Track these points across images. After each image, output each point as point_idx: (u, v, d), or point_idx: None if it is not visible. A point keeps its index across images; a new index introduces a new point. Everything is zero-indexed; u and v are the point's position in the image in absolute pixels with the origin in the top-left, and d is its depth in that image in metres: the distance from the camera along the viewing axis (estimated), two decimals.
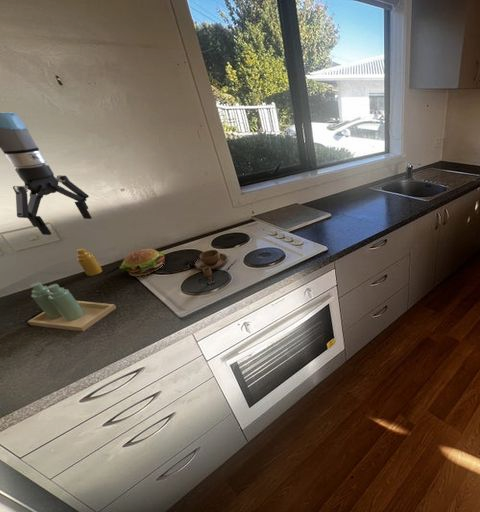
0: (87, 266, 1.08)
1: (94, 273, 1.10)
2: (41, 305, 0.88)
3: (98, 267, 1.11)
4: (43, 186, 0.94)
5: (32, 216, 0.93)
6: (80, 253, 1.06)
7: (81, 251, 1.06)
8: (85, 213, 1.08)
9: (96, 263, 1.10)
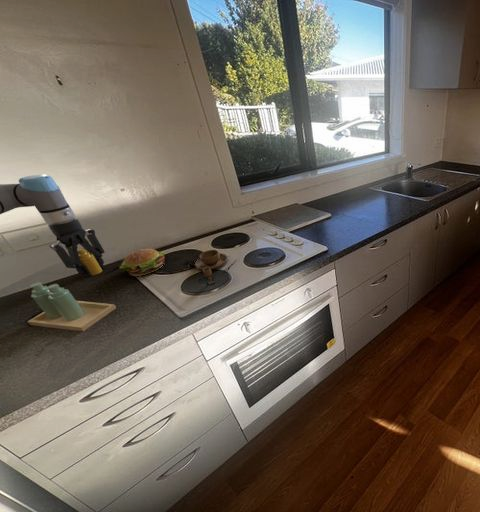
0: (87, 266, 1.08)
1: (94, 273, 1.10)
2: (41, 305, 0.88)
3: (98, 267, 1.11)
4: (73, 238, 1.02)
5: (79, 266, 1.05)
6: (80, 253, 1.06)
7: (81, 251, 1.06)
8: None
9: (96, 263, 1.10)
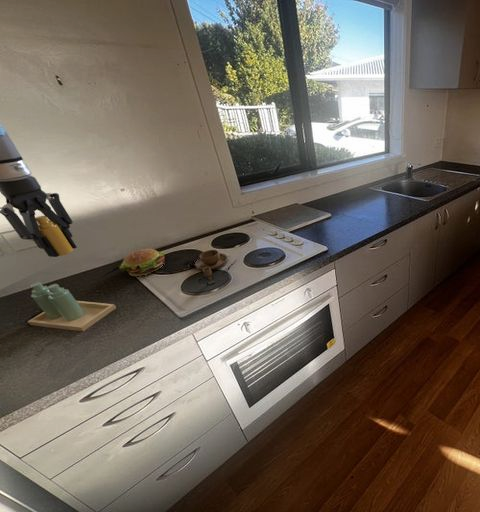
0: (50, 238, 0.86)
1: (59, 248, 0.88)
2: (41, 305, 0.88)
3: (64, 240, 0.89)
4: (28, 202, 0.81)
5: (38, 237, 0.84)
6: (40, 221, 0.84)
7: (41, 219, 0.84)
8: (69, 242, 0.91)
9: (61, 236, 0.88)
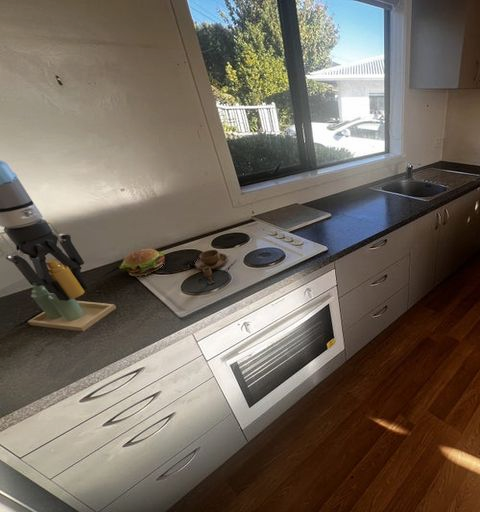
0: (60, 282, 0.82)
1: (70, 291, 0.84)
2: (41, 305, 0.88)
3: (75, 283, 0.85)
4: (39, 247, 0.77)
5: (49, 283, 0.80)
6: (50, 265, 0.80)
7: (52, 263, 0.80)
8: (80, 283, 0.87)
9: (72, 279, 0.84)
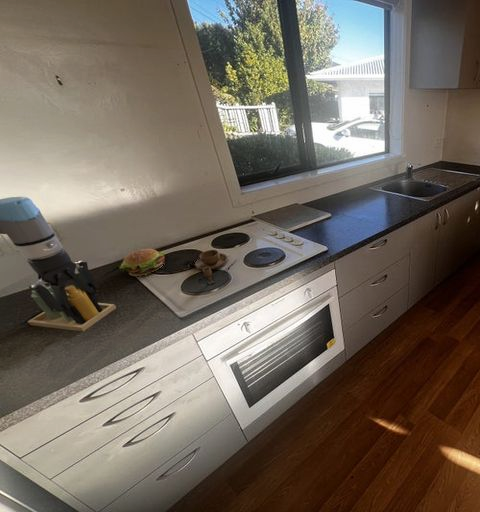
0: (78, 307, 0.87)
1: (87, 315, 0.89)
2: (41, 305, 0.88)
3: (92, 307, 0.90)
4: (59, 275, 0.81)
5: (67, 308, 0.84)
6: (69, 292, 0.85)
7: (70, 289, 0.85)
8: None
9: (89, 303, 0.89)
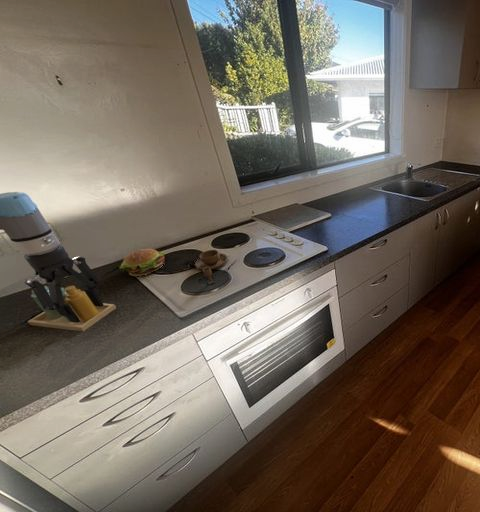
0: (78, 307, 0.87)
1: (87, 315, 0.89)
2: (41, 305, 0.88)
3: (92, 307, 0.90)
4: (56, 272, 0.81)
5: (61, 306, 0.83)
6: (69, 292, 0.85)
7: (70, 290, 0.85)
8: (96, 301, 0.92)
9: (89, 303, 0.89)
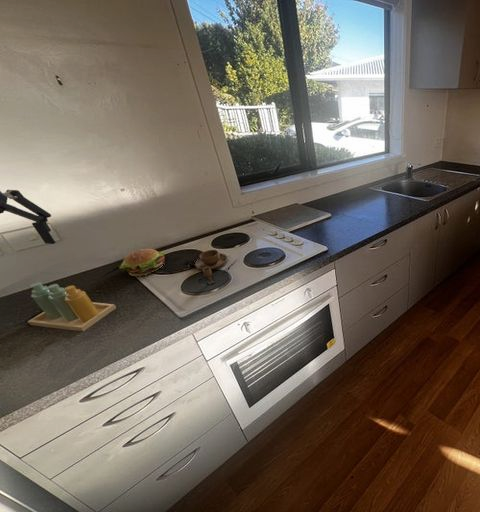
0: (78, 307, 0.87)
1: (87, 315, 0.89)
2: (41, 305, 0.88)
3: (92, 307, 0.90)
4: None
5: None
6: (69, 292, 0.85)
7: (70, 290, 0.85)
8: (46, 237, 0.84)
9: (89, 303, 0.89)
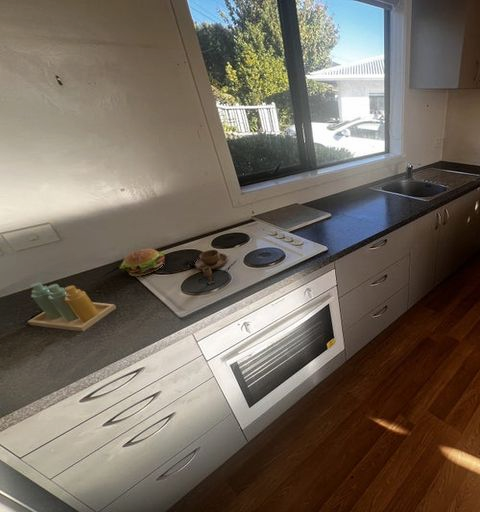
0: (78, 307, 0.87)
1: (87, 315, 0.89)
2: (41, 305, 0.88)
3: (92, 307, 0.90)
4: None
5: None
6: (69, 292, 0.85)
7: (70, 290, 0.85)
8: None
9: (89, 303, 0.89)
